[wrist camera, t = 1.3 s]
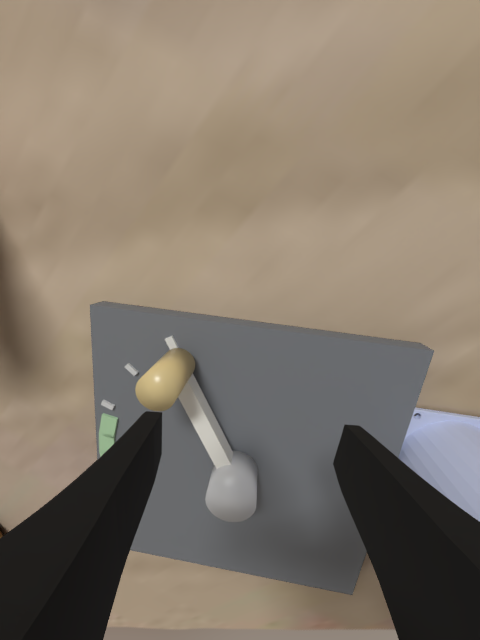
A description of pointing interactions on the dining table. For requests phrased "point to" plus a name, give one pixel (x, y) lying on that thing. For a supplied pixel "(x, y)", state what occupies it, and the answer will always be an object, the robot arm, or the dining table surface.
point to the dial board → (256, 433)
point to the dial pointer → (203, 434)
